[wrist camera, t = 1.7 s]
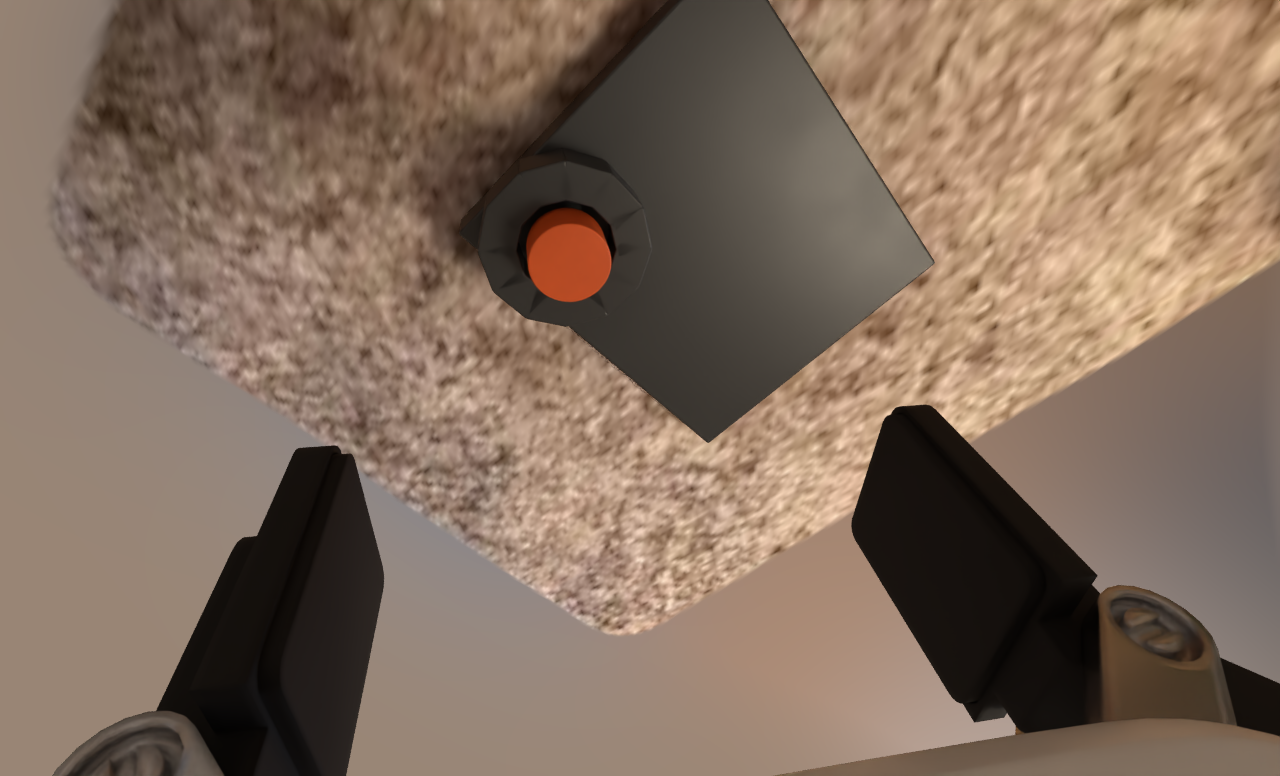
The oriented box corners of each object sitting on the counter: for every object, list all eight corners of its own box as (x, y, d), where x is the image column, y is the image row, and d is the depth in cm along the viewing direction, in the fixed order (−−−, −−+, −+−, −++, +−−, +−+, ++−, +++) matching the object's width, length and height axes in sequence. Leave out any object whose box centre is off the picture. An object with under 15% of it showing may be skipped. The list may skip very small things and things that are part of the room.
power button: (509, 247, 20) (509, 265, 19) (565, 189, 20) (569, 205, 18) (566, 297, 22) (570, 317, 20) (621, 245, 21) (628, 263, 20)
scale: (449, 220, 22) (442, 252, 20) (714, -63, 19) (745, -68, 16) (696, 428, 30) (713, 470, 27) (917, 250, 26) (960, 279, 24)
